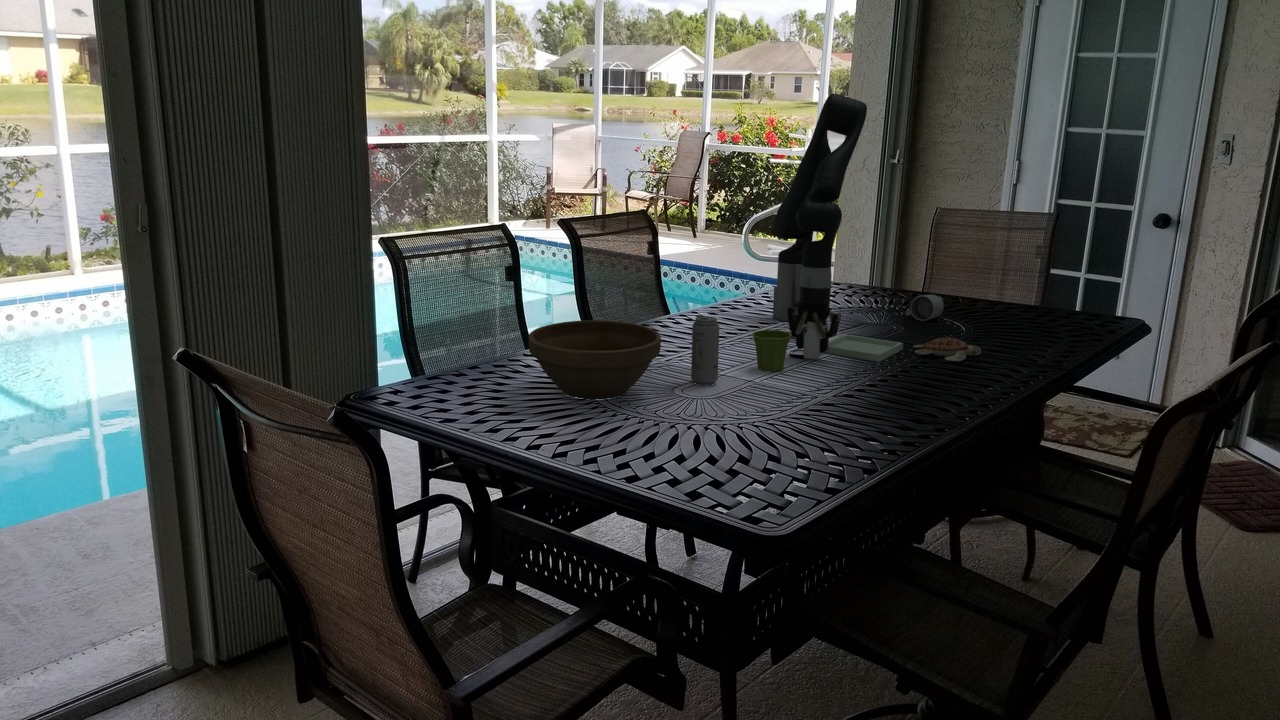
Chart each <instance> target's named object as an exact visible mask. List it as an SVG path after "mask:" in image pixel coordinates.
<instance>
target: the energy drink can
mask: <svg viewBox="0 0 1280 720" xmlns="http://www.w3.org/2000/svg"><path fill="white" fill-rule="evenodd" d="M691 331H692V332H691V333H692V335H691V337H692V338H691V342H692V343H691V373H690V375H691V376H690V379H691V380H692V382H693V384H694V383H696V384H699V385H698V386H700V385H711V386H713V385H712V384H714V383H715V384H716V382H717V381H718V379H719V378H718V377H719V353H720V352H719V351H720V325H719V323H718V318H717V317H714V316H711V315H709V316H708V315H707V316H706V315H704V316H703V315H702V316H696V317H695V321H694V322H693V324H692V330H691ZM696 384H695V385H696ZM715 384H714V385H715Z"/></svg>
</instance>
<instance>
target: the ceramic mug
mask: <svg viewBox="0 0 1280 720" xmlns="http://www.w3.org/2000/svg"><path fill="white" fill-rule="evenodd" d="M909 306H910V307H909V308H910V309H907V310H905V312H904V314H905V316H906V317H911V316H912V317H913V318H914V319H915V320H917V321H919V320H920V321H919V322H925V321H929V320H932V319H936V318H937V317H939V316H940V315H942V314H943V312H944V309H945V304H944V301H943V300H942V298H941V297H939V296H938V295H935V294H925V295H923V294H922V295H918V296H916V297H915V298H913V299H912V301H911V303H910V305H909Z"/></svg>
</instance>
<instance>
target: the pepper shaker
mask: <svg viewBox="0 0 1280 720" xmlns="http://www.w3.org/2000/svg"><path fill="white" fill-rule="evenodd" d="M820 339H821V334H820V333H819V330H818V328H817V326H816V324H815V322H807V332H806V333H804V345H803V349H802V355H803V359H804V360H811V361H812V360H816V361H818V360H820V358H821V353H820Z"/></svg>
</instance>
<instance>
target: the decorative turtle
mask: <svg viewBox="0 0 1280 720" xmlns="http://www.w3.org/2000/svg"><path fill="white" fill-rule="evenodd" d="M912 348H914V349H917V350H914V353H915V354H917V355H923V356H924V355H930V354H931V355H934V356H937V357H942V358H944V360H945V361H946V362H947V361H948V362H962V361H964V360H965V359H967V356H970V357H971V356H972V357H973V356H974V357H975V356H979V355H981V354H982V349H981V348H980V347H979V346H976V345H973V344H972V345H970V344H968V343H967V342H965V341H963V340H961V339H958V338H954V337H950V336H949V337H948V336H947V337H946V336H945V337H939V338H935V339H933V340H930V341H927V342H925V343H923V344H914V345H913V346H912Z"/></svg>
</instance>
